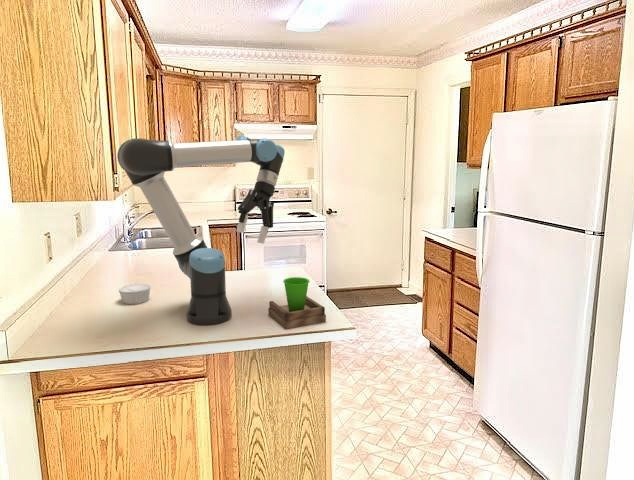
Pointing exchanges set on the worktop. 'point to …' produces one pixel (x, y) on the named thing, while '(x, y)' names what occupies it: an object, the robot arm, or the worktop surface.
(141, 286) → the ramekin
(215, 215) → the worktop surface
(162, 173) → the robot arm
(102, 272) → the worktop surface
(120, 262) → the worktop surface
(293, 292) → the cup
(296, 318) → the wooden tray
